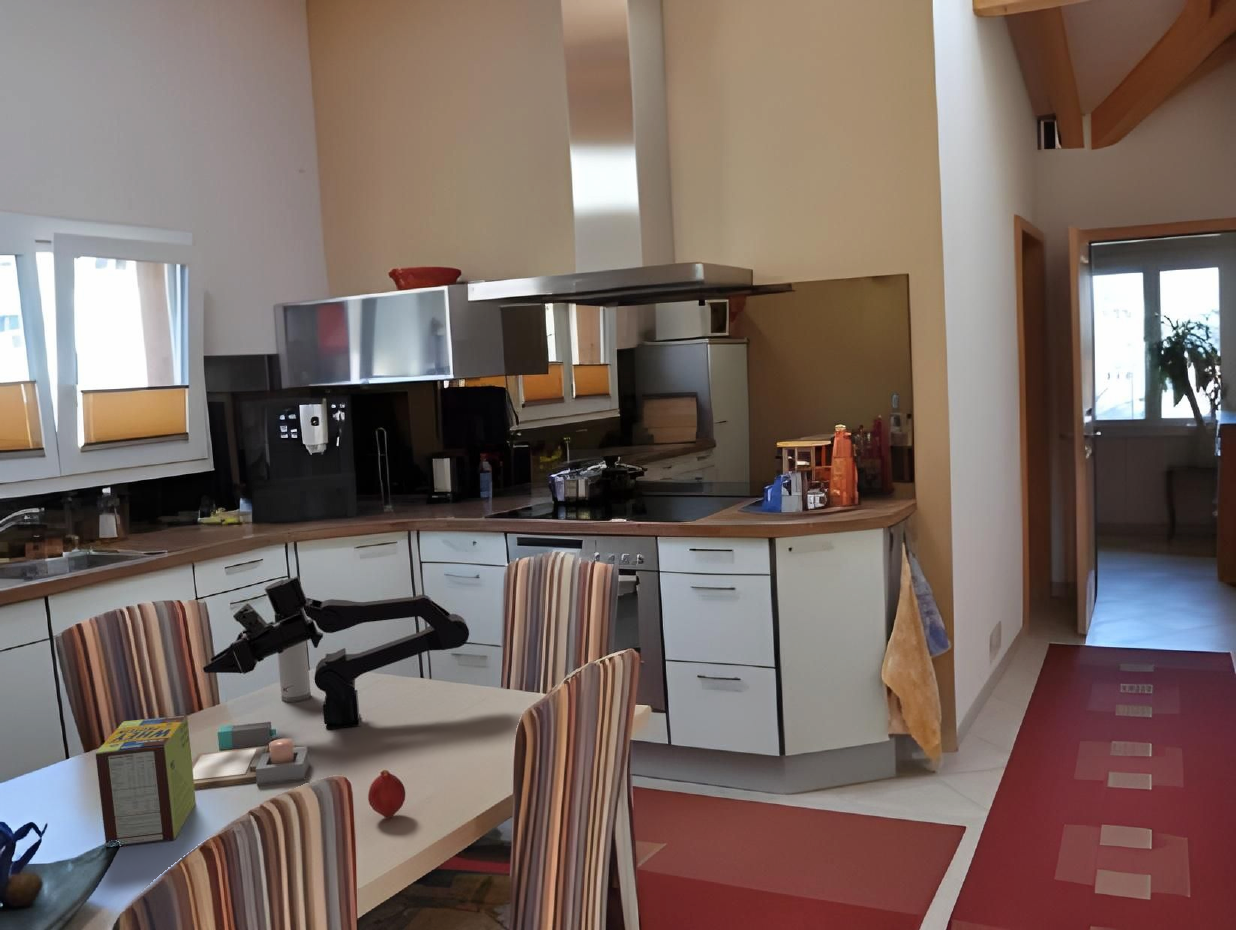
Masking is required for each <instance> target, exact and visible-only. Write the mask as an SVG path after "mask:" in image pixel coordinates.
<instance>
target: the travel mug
mask: <svg viewBox="0 0 1236 930" xmlns="http://www.w3.org/2000/svg"><path fill="white" fill-rule="evenodd" d="M296 614H299V612H296V613H294V614H292V615H290V616H287V617H282V616H280V614H275V613H274V622H275V623H277V622H279V621H282V620H284V619H287V618H289V617H292V616H294V615H296ZM307 648H308V647H307V641H305V642H303V643H300V644H298V645H295V646H293V647H290V648H288V649H285V650H284V652H282V653H280V654H278V653H277V660H278V662H277V663H278V674H279V685H280V692H281V693H280V695H281V696H280V697H281V700H282V701H283V702H286V703H295V702H300V701H305V700H307V699H309V698H310V697H311V695H312V694H311V693H312V692H311V684H310V683H311V681H310V672H309V671H310V670H309V668H310V667H309V658H308V649H307Z"/></svg>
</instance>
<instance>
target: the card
mask: <svg viewBox="0 0 1236 930" xmlns="http://www.w3.org/2000/svg"><path fill="white" fill-rule="evenodd" d="M298 749H307V745H305V746H296V747H295V746H293V750H298Z"/></svg>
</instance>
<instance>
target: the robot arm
mask: <svg viewBox="0 0 1236 930" xmlns="http://www.w3.org/2000/svg"><path fill="white" fill-rule="evenodd" d="M264 591H265V593H266V596H267V598H268V601H269V603H270V605H271V607H272V610H273V612H274V615H275V614H280V616H282V617H287V616H290V615H292V614H294V613H296V612H299V614H296V615H294V616H292V617H289V618H287V619H284V620H282V621H279V622H277V623H276V622H275V621H273V620H272V621H270V622H266V621H265V619H264V618H263V617H262V616H261V615H260V613H258V612H257V611H256V609H255V608H254V607H253V606H252V605H251V604H249V603H245V605H243V606H242V607H241V608H240V609H239V610H238V611H237V612H235V613H234V614H233V616H232V617H233V619H234V620H235V621H236V623H237V622H238V623H239V624H240V625H241V626H242V627H243V628H244V629H243V630H242V631H240V632H239V634H238V635H237V638H236V640H235V641H233V642H232V643H230V644H229V646H228V647H226V648H225V649H223V650H222V651H220V652H218V653H217V654H215V655H214V656H213V657H211V658H210V663H208V664H207V665H205V666H203V668H202V670H203V672H204V673H205V674H219V673H220V674H221V673H222V674H224V673H225V674H227V673H228V674H243V675H245V674H247V673H251V672H252V671H254V670H255V669H256V667H257V665H258V663H260V662H261V661H264V660H265V659H266V658H269V657H270V656H273V655H275V654H277V655H278V654H280V653H282V652H284V650H285V649H288V648H290V647H293V646H295V645H298V644H300V643H303V642H305V641H306V642H307V641H311V644H312V645H313V648H314V649H317V648H319V647H318V646H319V643H320V642H321V640H322V639H323V638H324V633H326V634H333V633H337V632H341V631H343V630H347V629H348V630H349V629H350V628H353V627H355V626H359V625H360V624H363V623H373V622H382V621H390V620H400V619H408V618H416V617H420V618H421V619H422V620H423V621H424V622H426V623H427V624H428V625H429V626H427V627H426V628H425V629H423V630H420V631H418V632H415V633H413V634H410V635H407V636H404V637H401V638H399V639H395V640H393V641H390V642H387V643H384V644H381V645H379V646H376V647H371V648H369V649H367V650H363V651H361V652H359V653H348V654H347V651H346V649H347V648H346V647H345V648H341V649H339V650H337V651H336V652H332V653H326V654H325V657H324V658H322V659H320V660H319V662H318V663H317V665H316V666H315V672H314V679H313V680H314V685H315V686H316V687H317V689H319V690H320V691H322V692H324V693H325V696H324V701H323V703H322V711H323V712H322V713H323V723H324V725H325V729H326V730H334V729H344V728H350V727H359V726H360V722H361V717H362V715H361V713H360V707H359V696H358V695H359V694H358V692H359V691H358V690H357V689H356V679H358V678H359V677H360V676H362V675H364V674H366V673H369V672H372V671H375V670H377V669H381V668H383V667H386V666H389V665H393V664H395V663H397V662H400V661H403V660H406V659H408V658H411V657H414V656H417V655H420V654H423V653H425V652H431V651H445V650H446V651H447V650H452V649H457V648H461V647H463V646H464V645H465V644H467V642H468V640H469V636H470V630H469V626H468V624H467V622H466V620H465V619H464V618H463V617H462V616H461V615H458V614H457V613H450V612H449V611H447V610H446V609H445V608H443V606H440V604H437V603H436V602H435V601H433V600H432V599H431V597H430V596H428V595H426V594H419V595H416V596H407V597H406V596H405V597H399V598H398V597H397V598H388V599H381V600H371V601H370V600H369V601H364V602H363V601H353V600H349V599H335V598H334V599H332V598H331V599H330V598H328V599H326V600H323V601H322V600H318V599H314V598H309V597H306V594H305V592H304V590H303V587H302V583H301V580H300V577H299V576H294V577H290V578H286V579H280V580H278V581H276V582H275V581H274V582H272V583H271V584H269V585H268V586H266V587H264ZM308 618H309V619H308ZM315 623H316V624H315ZM316 626H317V627H316ZM317 628H318V629H319V630H320V631H321V632H319V631H318V629H317Z"/></svg>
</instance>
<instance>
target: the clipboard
mask: <svg viewBox="0 0 1236 930" xmlns="http://www.w3.org/2000/svg"><path fill="white" fill-rule="evenodd" d="M263 753H270V748H269V745H266V746H265V745H264V746H263V745H262V746H253V747H248V748H247V747H246V748H237V749H236V748H235V749H227V750H219V751H210V752H209V751H208V752H201V753H197V754H196V756H195V758H194V759H193V761H192V768H193V779H194V790H199V789H206V788H207V789H208V788H216V787H217V788H218V787H223V786H232V785H241V784H250V783H257V780H256V767H257V765H258V763H259V760H260V758H261V756H262V754H263Z"/></svg>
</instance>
